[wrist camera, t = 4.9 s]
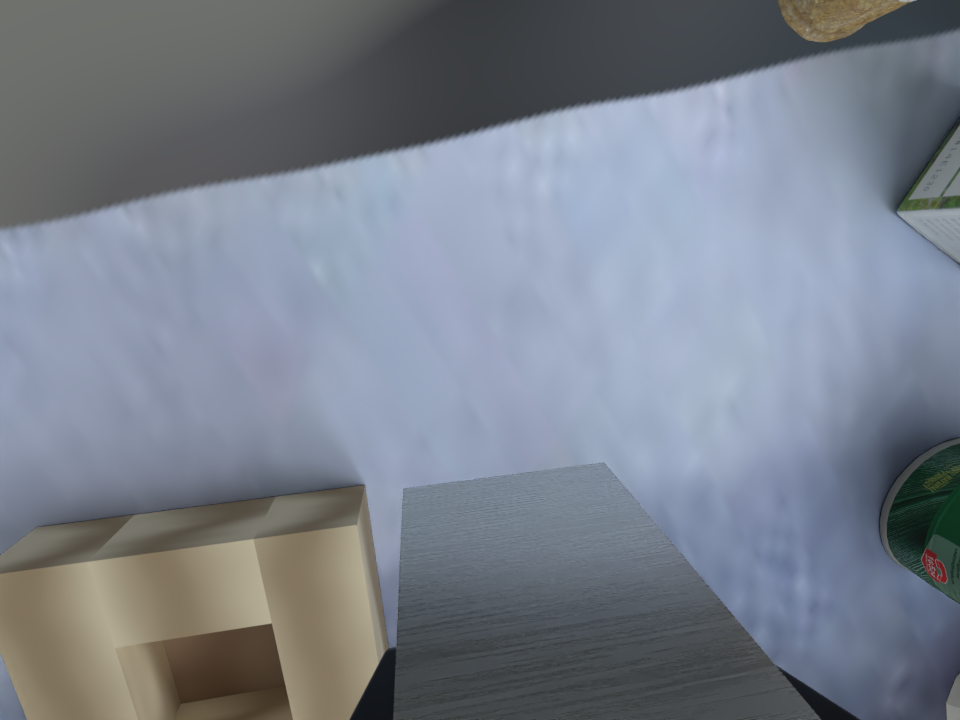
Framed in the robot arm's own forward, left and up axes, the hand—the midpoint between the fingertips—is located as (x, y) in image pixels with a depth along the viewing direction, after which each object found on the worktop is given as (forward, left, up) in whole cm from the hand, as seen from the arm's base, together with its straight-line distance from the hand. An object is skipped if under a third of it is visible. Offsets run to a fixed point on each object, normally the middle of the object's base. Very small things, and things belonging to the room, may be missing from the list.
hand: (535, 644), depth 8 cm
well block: (+11, +10, -13) cm, 20 cm away
